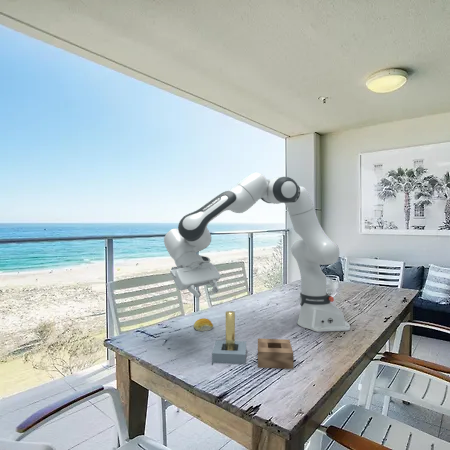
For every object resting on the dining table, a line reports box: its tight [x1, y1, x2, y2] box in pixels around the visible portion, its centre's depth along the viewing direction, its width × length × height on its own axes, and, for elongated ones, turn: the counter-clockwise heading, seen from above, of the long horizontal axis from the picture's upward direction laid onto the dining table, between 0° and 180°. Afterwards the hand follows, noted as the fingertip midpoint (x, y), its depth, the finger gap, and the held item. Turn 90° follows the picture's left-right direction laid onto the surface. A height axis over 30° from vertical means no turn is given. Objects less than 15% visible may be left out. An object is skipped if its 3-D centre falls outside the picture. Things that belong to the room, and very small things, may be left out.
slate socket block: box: [211, 340, 247, 366], centre depth 108 cm, size 11×11×4 cm
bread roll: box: [193, 317, 214, 332], centre depth 138 cm, size 8×9×4 cm
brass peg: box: [225, 310, 236, 351], centre depth 108 cm, size 3×3×16 cm
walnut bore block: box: [257, 337, 294, 370], centre depth 104 cm, size 11×11×6 cm
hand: (208, 294), depth 114 cm, fingers open, 8 cm apart
